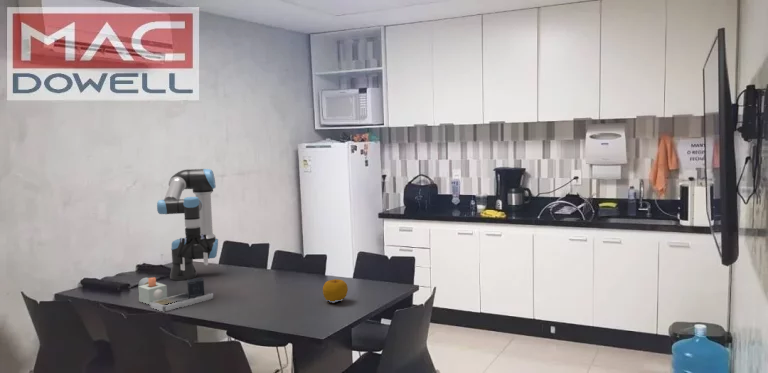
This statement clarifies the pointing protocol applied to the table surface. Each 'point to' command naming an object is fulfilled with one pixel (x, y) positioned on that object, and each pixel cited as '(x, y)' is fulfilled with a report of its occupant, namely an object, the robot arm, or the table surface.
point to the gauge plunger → (152, 282)
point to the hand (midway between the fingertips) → (194, 267)
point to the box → (195, 287)
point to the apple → (335, 290)
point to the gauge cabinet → (152, 293)
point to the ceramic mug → (143, 281)
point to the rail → (161, 307)
